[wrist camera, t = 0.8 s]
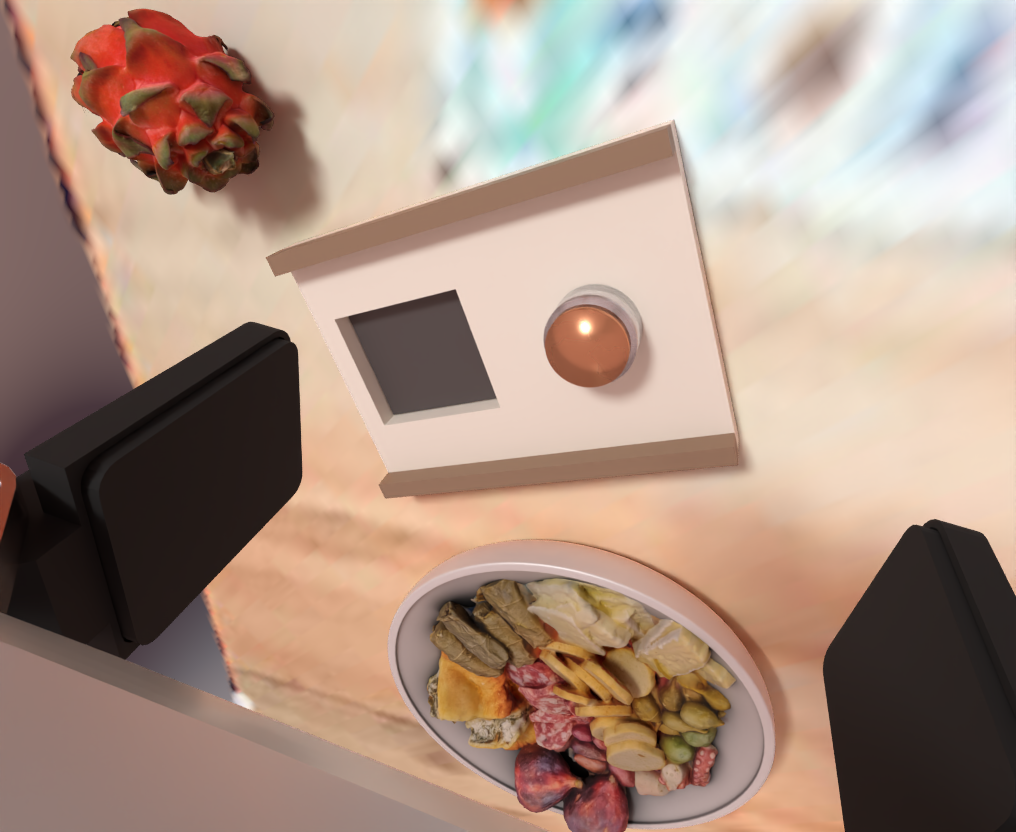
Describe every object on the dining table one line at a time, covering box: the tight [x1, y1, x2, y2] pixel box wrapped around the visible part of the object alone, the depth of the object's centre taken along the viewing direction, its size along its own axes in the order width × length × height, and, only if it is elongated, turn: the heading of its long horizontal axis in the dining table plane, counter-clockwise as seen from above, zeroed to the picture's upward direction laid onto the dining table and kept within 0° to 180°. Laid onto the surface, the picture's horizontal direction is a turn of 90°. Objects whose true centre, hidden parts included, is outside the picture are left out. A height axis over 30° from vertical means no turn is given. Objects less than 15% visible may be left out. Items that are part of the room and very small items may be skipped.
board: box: [266, 120, 739, 498], centre depth 38 cm, size 24×18×3 cm
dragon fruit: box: [71, 9, 274, 195], centre depth 35 cm, size 8×8×12 cm
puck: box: [543, 284, 643, 387], centre depth 34 cm, size 5×5×3 cm
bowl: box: [388, 540, 775, 832], centre depth 50 cm, size 30×30×8 cm
